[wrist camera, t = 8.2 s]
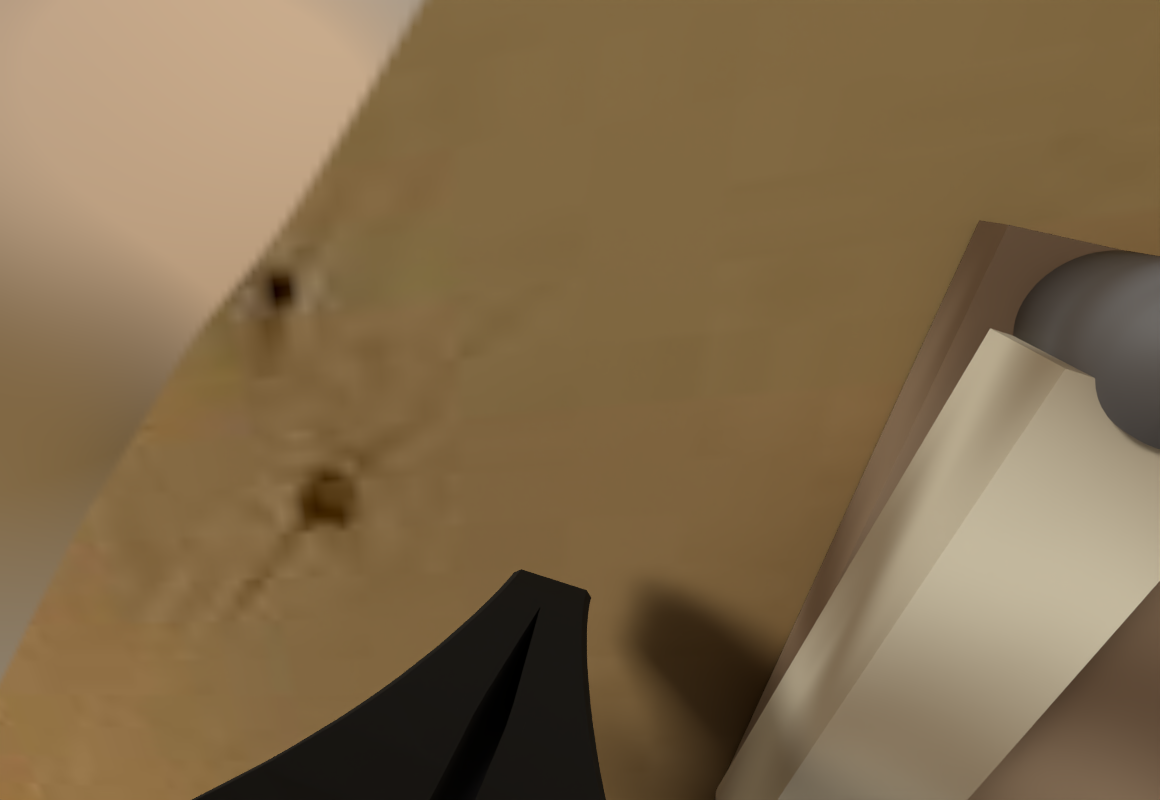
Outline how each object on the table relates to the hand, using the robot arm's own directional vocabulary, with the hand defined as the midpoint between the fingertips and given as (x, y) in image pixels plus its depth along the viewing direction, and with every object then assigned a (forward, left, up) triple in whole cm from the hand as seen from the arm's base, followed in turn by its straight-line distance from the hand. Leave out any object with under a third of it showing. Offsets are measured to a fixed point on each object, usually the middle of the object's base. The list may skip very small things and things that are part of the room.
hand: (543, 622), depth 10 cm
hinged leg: (+2, -6, -1) cm, 7 cm away
